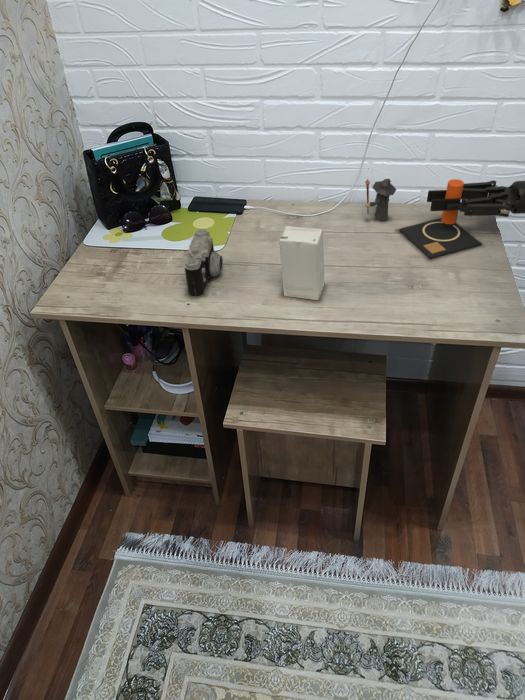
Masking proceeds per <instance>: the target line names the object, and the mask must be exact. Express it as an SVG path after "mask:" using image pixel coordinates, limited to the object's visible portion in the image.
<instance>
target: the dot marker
mask: <svg viewBox="0 0 525 700" xmlns="http://www.w3.org/2000/svg"><path fill="white" fill-rule="evenodd" d="M464 184H465V182H464V181H463V180H461V179H459V178H458V179H457V178H453V179H450V180H448V181H447V185H446V189H445V190H446V196H445V199H452V198H460V199H461V196H462V191H463V186H464ZM461 200H462V199H461ZM459 212H460V210H453V211H452V210H451V211H442V213H441V217H440V218H441V221H442V222H443V225H444V226H446V227H452V226H453V225H454V223H456V224H457V221H458V215H459Z"/></svg>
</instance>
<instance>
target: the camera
mask: <svg viewBox="0 0 525 700" xmlns="http://www.w3.org/2000/svg"><path fill="white" fill-rule="evenodd" d="M186 257H187V258H186V261H185V263H184V266H183V268H184V273H185V279H186V284H187V291H188V295H189V296H190V297H193V298H198V297H203V296H204V294H205V291H206V289H207V284H208V282H209V279H211V278H214V277H217V276H218V275H220V274H222V273H223V269H224V259H223V256H222V255H221V254H219V253H218V252H217V251H215V249H214V240H213V238H212V237H211V234H210V231H208V230H207V229H205V228H199V229H197V230H196V231H195V232H194V234H193V237H192V240H191V241H190V244H189V247H188V251H187V254H186Z"/></svg>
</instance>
